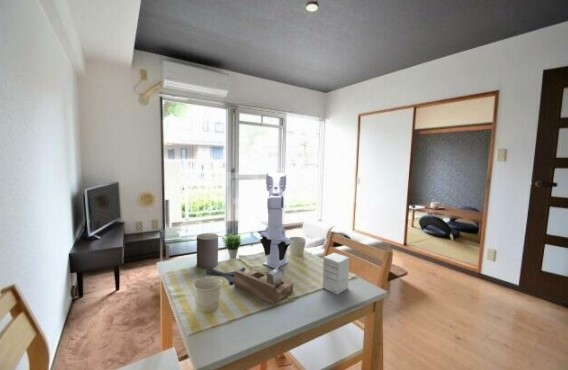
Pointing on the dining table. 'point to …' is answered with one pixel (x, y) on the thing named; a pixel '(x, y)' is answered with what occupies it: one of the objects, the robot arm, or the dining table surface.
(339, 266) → the supplement box
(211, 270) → the bracket
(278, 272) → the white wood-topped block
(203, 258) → the pillar candle
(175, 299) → the dining table surface
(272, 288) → the brown holed block
